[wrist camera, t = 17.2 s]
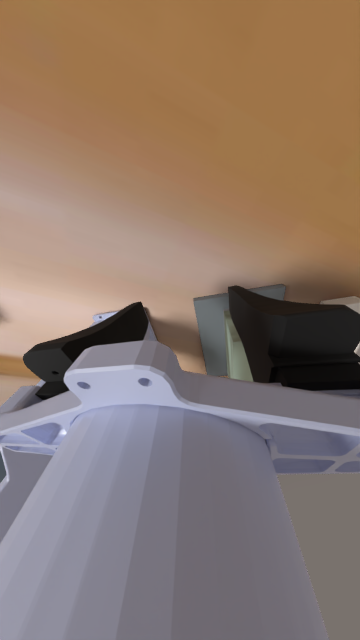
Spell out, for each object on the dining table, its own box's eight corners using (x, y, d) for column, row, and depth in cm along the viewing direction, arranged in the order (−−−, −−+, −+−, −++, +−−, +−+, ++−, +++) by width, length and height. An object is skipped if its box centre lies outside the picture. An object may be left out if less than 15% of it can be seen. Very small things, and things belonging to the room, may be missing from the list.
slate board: (207, 372, 32) (207, 376, 31) (193, 298, 22) (193, 301, 21) (267, 368, 29) (269, 372, 29) (282, 283, 20) (285, 286, 19)
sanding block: (226, 369, 29) (234, 406, 23) (222, 309, 21) (233, 342, 16) (248, 367, 28) (261, 406, 22) (252, 305, 21) (274, 338, 15)
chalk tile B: (312, 322, 23) (321, 330, 21) (319, 300, 21) (329, 307, 19) (342, 318, 22) (354, 326, 20) (352, 294, 20) (367, 301, 18)
